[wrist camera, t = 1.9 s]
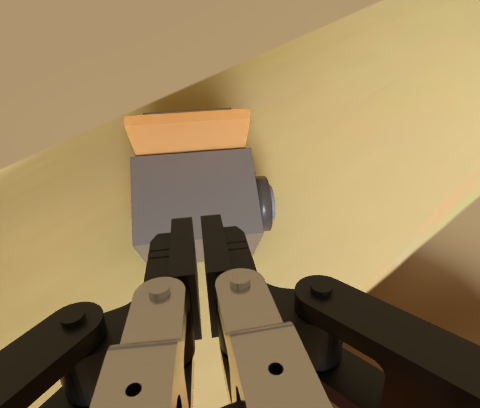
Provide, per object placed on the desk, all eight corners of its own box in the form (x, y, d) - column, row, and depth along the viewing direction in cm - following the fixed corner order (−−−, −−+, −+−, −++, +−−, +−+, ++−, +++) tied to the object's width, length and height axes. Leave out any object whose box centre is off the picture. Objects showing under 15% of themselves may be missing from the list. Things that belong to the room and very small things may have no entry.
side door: (150, 191, 45) (124, 126, 31) (149, 178, 46) (123, 108, 32) (238, 183, 46) (250, 117, 33) (236, 170, 47) (247, 100, 33)
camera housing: (149, 267, 42) (132, 246, 33) (146, 195, 45) (130, 157, 36) (269, 254, 44) (285, 230, 34) (258, 185, 47) (270, 146, 37)
